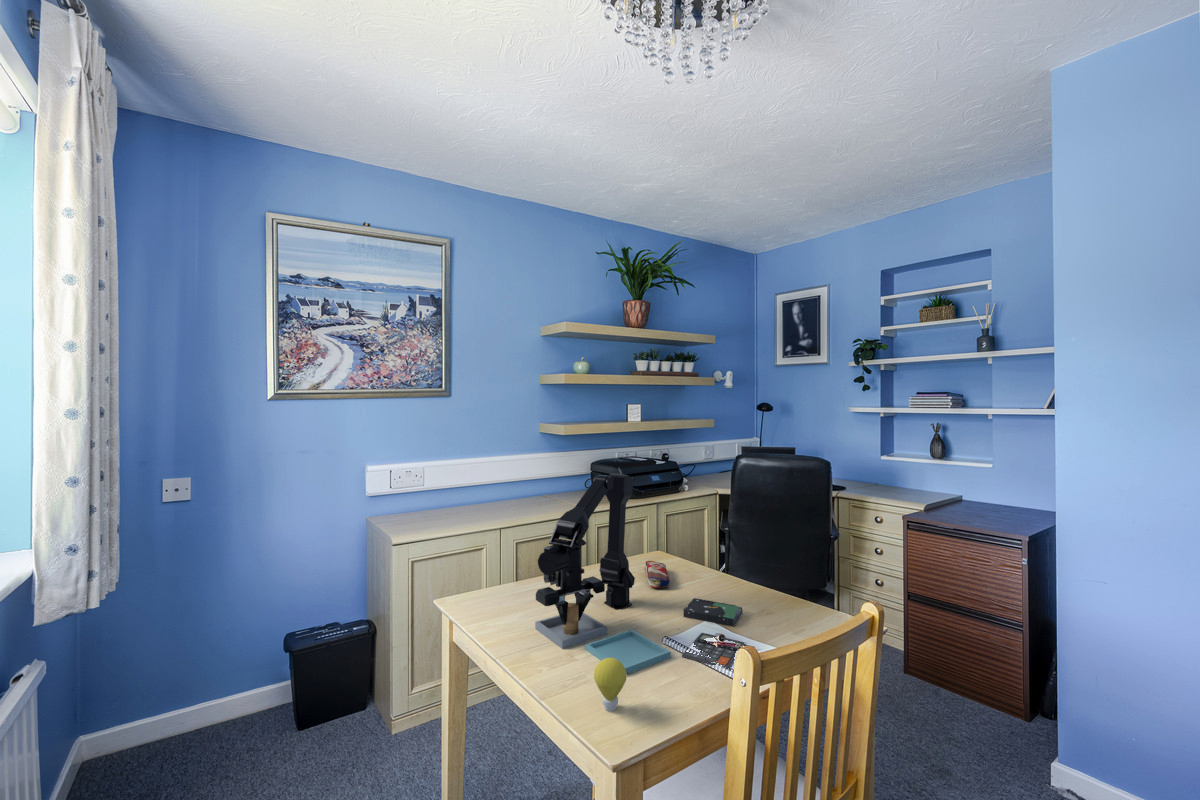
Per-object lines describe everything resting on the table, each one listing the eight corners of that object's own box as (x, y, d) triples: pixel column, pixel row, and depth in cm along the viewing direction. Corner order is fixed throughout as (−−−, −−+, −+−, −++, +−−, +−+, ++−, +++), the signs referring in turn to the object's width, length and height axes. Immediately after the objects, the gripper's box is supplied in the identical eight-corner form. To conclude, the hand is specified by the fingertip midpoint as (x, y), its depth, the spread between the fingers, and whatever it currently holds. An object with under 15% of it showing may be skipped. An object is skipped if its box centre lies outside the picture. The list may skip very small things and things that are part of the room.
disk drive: (683, 619, 156) (734, 628, 149) (682, 609, 156) (734, 618, 149) (693, 606, 165) (742, 614, 158) (693, 597, 165) (742, 605, 158)
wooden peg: (573, 627, 148) (573, 601, 148) (581, 632, 145) (581, 606, 145) (560, 630, 146) (560, 605, 146) (568, 636, 143) (568, 609, 143)
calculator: (681, 654, 132) (701, 631, 145) (681, 658, 132) (701, 635, 145) (728, 667, 126) (745, 641, 139) (728, 671, 126) (745, 645, 139)
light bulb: (592, 699, 114) (592, 652, 114) (624, 698, 115) (624, 650, 114) (595, 718, 107) (595, 668, 107) (628, 716, 108) (628, 667, 108)
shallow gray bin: (578, 617, 155) (578, 609, 155) (607, 635, 144) (607, 627, 144) (535, 630, 147) (535, 621, 147) (562, 650, 136) (562, 640, 136)
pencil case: (676, 573, 194) (676, 559, 194) (668, 592, 175) (668, 577, 175) (646, 570, 197) (646, 556, 197) (635, 589, 178) (635, 574, 178)
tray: (631, 635, 144) (631, 629, 144) (670, 657, 132) (670, 651, 132) (585, 650, 136) (585, 644, 136) (621, 676, 123) (621, 669, 123)
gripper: (583, 551, 157) (583, 604, 158) (525, 563, 147) (525, 620, 147) (605, 561, 148) (605, 617, 148) (546, 574, 137) (546, 635, 138)
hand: (571, 622), depth 146 cm, fingers closed on wooden peg, 4 cm apart
